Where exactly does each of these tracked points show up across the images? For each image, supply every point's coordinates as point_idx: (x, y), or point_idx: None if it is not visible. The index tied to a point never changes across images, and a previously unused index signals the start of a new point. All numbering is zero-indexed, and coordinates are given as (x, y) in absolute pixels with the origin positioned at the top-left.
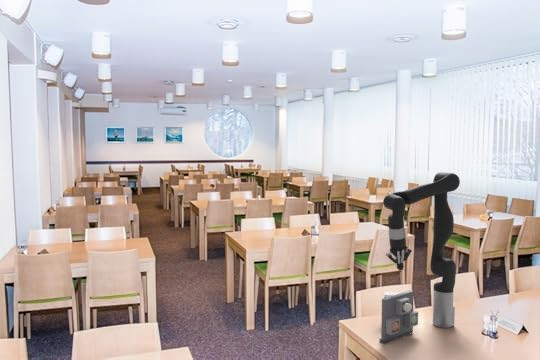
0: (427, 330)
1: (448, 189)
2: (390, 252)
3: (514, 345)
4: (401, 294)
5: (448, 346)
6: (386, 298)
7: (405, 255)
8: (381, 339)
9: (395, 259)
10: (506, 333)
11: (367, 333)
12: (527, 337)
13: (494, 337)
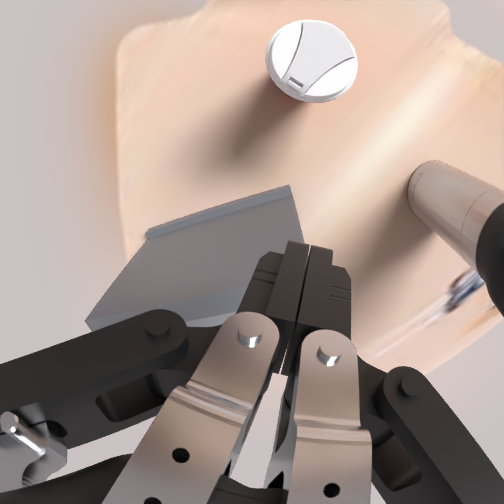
0: (356, 208)
1: None
2: (12, 494)
3: (437, 345)
4: (203, 312)
5: None
6: (104, 324)
7: (443, 443)
8: (148, 239)
9: (204, 360)
10: (484, 298)
11: (144, 157)
12: (487, 323)
13: (450, 307)
